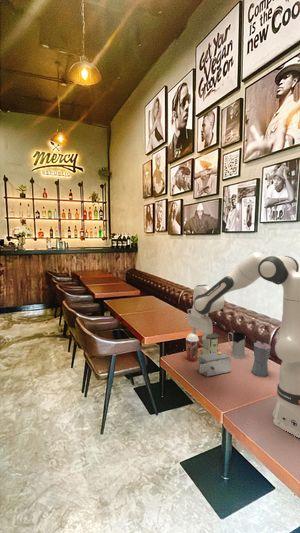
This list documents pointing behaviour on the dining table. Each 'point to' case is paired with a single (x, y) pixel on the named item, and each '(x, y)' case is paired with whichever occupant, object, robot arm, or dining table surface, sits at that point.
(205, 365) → the side door
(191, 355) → the smoothie
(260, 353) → the moka pot
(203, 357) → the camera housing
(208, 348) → the coffee can
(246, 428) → the dining table surface
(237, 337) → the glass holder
